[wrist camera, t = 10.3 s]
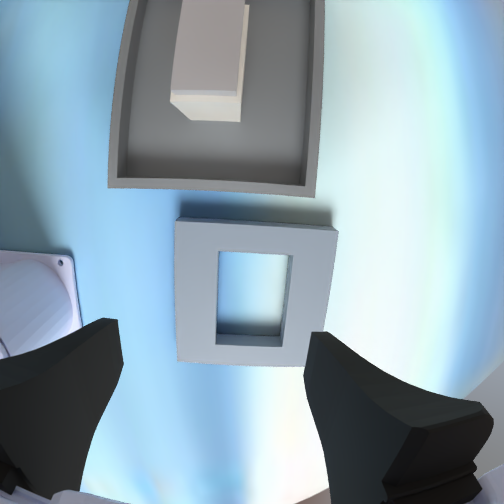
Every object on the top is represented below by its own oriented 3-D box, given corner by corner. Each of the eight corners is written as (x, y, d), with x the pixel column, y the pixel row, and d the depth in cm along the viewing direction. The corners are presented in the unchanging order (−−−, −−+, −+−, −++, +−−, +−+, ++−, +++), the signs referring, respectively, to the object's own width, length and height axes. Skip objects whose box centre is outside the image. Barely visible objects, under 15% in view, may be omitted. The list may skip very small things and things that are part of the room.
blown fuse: (190, 120, 18) (164, 97, 11) (198, 46, 16) (179, -6, 10) (240, 121, 18) (241, 98, 11) (246, 47, 17) (250, -6, 10)
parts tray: (121, 185, 19) (107, 188, 17) (144, -3, 16) (134, -19, 13) (305, 194, 20) (314, 197, 18) (315, 2, 16) (324, -14, 14)
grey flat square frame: (180, 350, 23) (177, 361, 21) (179, 217, 20) (174, 221, 19) (312, 355, 23) (315, 366, 22) (331, 226, 21) (338, 231, 19)
